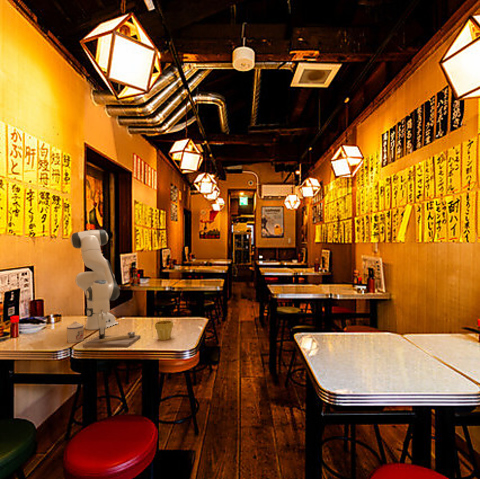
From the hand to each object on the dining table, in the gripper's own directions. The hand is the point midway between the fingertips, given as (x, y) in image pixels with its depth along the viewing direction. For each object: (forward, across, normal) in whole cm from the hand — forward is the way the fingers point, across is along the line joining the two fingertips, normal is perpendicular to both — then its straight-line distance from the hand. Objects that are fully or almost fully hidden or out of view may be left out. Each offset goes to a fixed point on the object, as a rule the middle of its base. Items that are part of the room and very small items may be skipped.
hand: (102, 333), depth 190 cm
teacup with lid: (+6, +17, +13) cm, 23 cm away
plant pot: (+7, -8, -34) cm, 35 cm away
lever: (+4, 0, -8) cm, 9 cm away
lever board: (+6, 0, -6) cm, 8 cm away
